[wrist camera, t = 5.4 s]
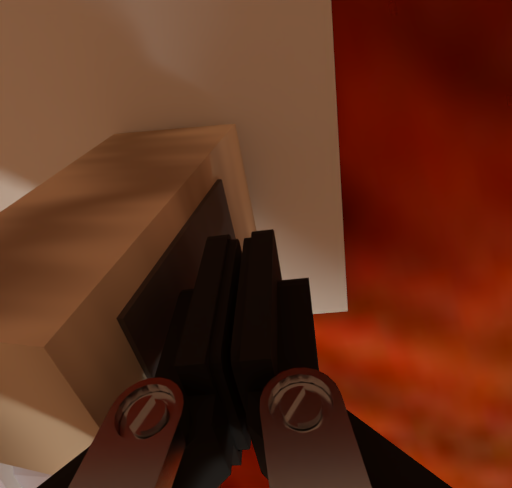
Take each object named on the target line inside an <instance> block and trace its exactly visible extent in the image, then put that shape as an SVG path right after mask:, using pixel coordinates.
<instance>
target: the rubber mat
mask: <svg viewBox="0 0 512 488" xmlns="http://www.w3.org/2000/svg"><path fill="white" fill-rule="evenodd" d="M224 124H235V125H236V130H237V135H238V140H239V145H240V150H241V155H242V160H243V165H244V170H245V175H246V180H247V185H248V190H249V196H250V201H251V206H252V211H253V216H254V221H255V226H256V231H261V230H270V229H273V230H274V233H275V239H276V245H277V251H278V258H279V264H280V270H281V276H282V280H289V279H299V278H309V285H310V293H311V302H312V311H313V314H319V313H331V312H343V311H348V307H347V288H346V270H345V251H344V232H343V213H342V194H341V175H340V156H339V138H338V119H337V100H336V81H335V62H334V43H333V24H332V6H331V0H0V212H1V211H2V210H4V209H5V208H7V207H8V206H10V205H11V204H13V203H14V202H16V201H17V200H19V199H20V198H21V197H23V196H24V195H26V194H27V193H29V192H30V191H32V190H33V189H35V188H36V187H37V186H39V185H40V184H42V183H43V182H45V181H46V180H48V179H49V178H51V177H52V176H54V175H55V174H56V173H58V172H59V171H61V170H62V169H64V168H65V167H67V166H68V165H70V164H71V163H73V162H74V161H75V160H77V159H78V158H80V157H81V156H83V155H84V154H86V153H87V152H89V151H90V150H92V149H93V148H94V147H96V146H97V145H99V144H100V143H102V142H103V141H105V140H106V139H108V138H109V137H110V136H112V135H113V134H120V133H131V132H143V131H155V130H166V129H178V128H189V127H201V126H213V125H224Z"/></svg>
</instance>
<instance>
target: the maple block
mask: <svg viewBox="0 0 512 488" xmlns="http://www.w3.org/2000/svg"><path fill="white" fill-rule="evenodd" d="M253 231H256V226H255V221H254V216H253V211H252V206H251V201H250V196H249V190H248V185H247V180H246V175H245V170H244V165H243V160H242V155H241V150H240V145H239V140H238V135H237V130H236V125H235V124H224V125H213V126H201V127H189V128H178V129H166V130H155V131H143V132H131V133H120V134H113V135H112V136H110V137H109V138H108V139H106V140H105V141H103V142H102V143H100V144H99V145H97V146H96V147H94V148H93V149H92V150H90V151H89V152H87V153H86V154H84V155H83V156H81V157H80V158H78V159H77V160H75V161H74V162H73V163H71V164H70V165H68V166H67V167H65V168H64V169H62V170H61V171H59V172H58V173H56V174H55V175H54V176H52V177H51V178H49V179H48V180H46V181H45V182H43V183H42V184H40V185H39V186H37V187H36V188H35V189H33V190H32V191H30V192H29V193H27V194H26V195H24V196H23V197H21V198H20V199H19V200H17V201H16V202H14V203H13V204H11V205H10V206H8V207H7V208H5V209H4V210H2V211H1V212H0V463H3V464H7V465H11V466H16V467H20V468H24V469H28V470H33V471H37V472H41V473H45V474H50V475H53V474H55V473H56V472H57V471H59V470H60V469H61V468H62V467H64V466H65V465H66V464H67V463H69V462H70V461H71V460H73V459H74V458H75V457H76V456H78V455H79V454H80V453H81V452H83V451H84V450H85V449H87V448H88V447H89V446H90V445H91V444H92V442H93V440H94V438H95V436H96V434H97V432H98V430H99V428H100V426H101V425H102V423H103V421H104V419H105V417H106V415H107V413H108V411H109V409H110V408H111V406H112V405H113V403H114V402H115V400H116V399H117V397H118V396H119V395H121V394H122V393H123V392H124V391H125V390H126V389H127V388H129V387H130V386H132V385H134V384H135V383H137V382H139V381H142V380H145V379H148V378H154V377H155V373H156V370H157V367H158V363H159V360H160V357H161V353H162V350H163V347H164V343H165V340H166V336H167V333H168V330H169V326H170V323H171V320H172V316H173V313H174V310H175V306H176V303H177V299H178V296H179V294H180V292H181V291H182V290H186V289H194V286H195V282H196V279H197V275H198V271H199V267H200V263H201V259H202V255H203V251H204V247H205V244H206V240H207V237H209V236H217V235H226V234H229V235H230V236H231V239H238V240H239V242H240V246H241V251H242V250H243V241H244V238H250V237H251V233H252V232H253Z"/></svg>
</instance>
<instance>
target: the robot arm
mask: <svg viewBox="0 0 512 488" xmlns="http://www.w3.org/2000/svg"><path fill="white" fill-rule="evenodd" d="M251 440H252V443H253V447H254V450H255V453H256V456H257V459H258V463H259V466H260V469H261V472H262V474H263V475H264V476H265V477H266V478H267V479H268V480H269V488H452V487H450V486H449V485H448V484H446V483H445V482H444V481H442V480H441V479H440V478H438V477H437V476H436V475H434V474H433V473H431V472H430V471H429V470H427V469H426V468H425V467H423V466H422V465H421V464H419V463H418V462H417V461H415V460H414V459H413V458H411V457H410V456H408V455H407V454H406V453H404V452H403V451H402V450H400V449H399V448H398V447H396V446H395V445H394V444H392V443H391V442H390V441H388V440H387V439H386V438H384V437H383V436H381V435H380V434H379V433H377V432H376V431H375V430H373V429H372V428H371V427H369V426H368V425H367V424H365V423H364V422H363V421H361V420H360V419H358V418H357V417H356V416H354V415H353V414H352V413H350V412H349V411H348V410H346V407H345V404H344V401H343V398H342V395H341V393H340V391H339V389H338V387H337V385H336V383H335V382H334V381H333V380H332V379H331V378H329V377H328V376H327V375H326V374H324V373H322V372H320V371H319V368H318V358H317V349H316V339H315V330H314V320H313V311H312V302H311V293H310V285H309V278H299V279H289V280H282V276H281V270H280V264H279V258H278V251H277V245H276V239H275V233H274V230H273V229H270V230H261V231H253V232H252V233H251V237H250V238H244V241H243V250H242V251H241V246H240V242H239V240H238V239H231V236H230V235H229V234H226V235H217V236H209V237H207V240H206V244H205V247H204V251H203V255H202V259H201V263H200V267H199V271H198V275H197V279H196V282H195V286H194V289H186V290H182V291H181V292H180V294H179V296H178V299H177V303H176V306H175V310H174V313H173V316H172V320H171V323H170V326H169V330H168V333H167V336H166V340H165V343H164V347H163V350H162V353H161V357H160V360H159V363H158V367H157V370H156V373H155V377H154V378H148V379H145V380H142V381H139V382H137V383H135V384H134V385H132V386H130V387H129V388H127V389H126V390H125V391H124V392H123V393H122V394H121V395H119V396H118V397H117V399H116V400H115V402H114V403H113V405H112V406H111V408H110V409H109V411H108V413H107V415H106V417H105V419H104V421H103V423H102V425H101V426H100V428H99V430H98V432H97V434H96V436H95V438H94V440H93V442H92V444H91V445H90V446H89V447H88V448H87V449H85V450H84V451H83V452H81V453H80V454H79V455H78V456H76V457H75V458H74V459H73V460H71V461H70V462H69V463H67V464H66V465H65V466H64V467H62V468H61V469H60V470H59V471H57V472H56V473H55V474H53V475H52V476H51V477H50V478H48V479H47V480H46V481H44V482H43V483H42V484H41V485H39V486H38V487H37V488H221V484H222V483H223V482H224V481H225V480H226V479H227V478H228V477H229V476H230V474H231V467H232V465H241V460H242V450H246V449H250V445H251Z"/></svg>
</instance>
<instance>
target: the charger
mask: <svg viewBox="0 0 512 488" xmlns="http://www.w3.org/2000/svg"><path fill="white" fill-rule="evenodd" d="M51 476H52V475H50V474H45V473H41V472H37V471H33V470H28V469H24V468H20V467H16V466H11V465H7V464H3V463H0V488H37V487H38V486H39V485H41V484H42V483H43V482H44V481H46V480H47V479H48V478H50V477H51Z"/></svg>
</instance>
